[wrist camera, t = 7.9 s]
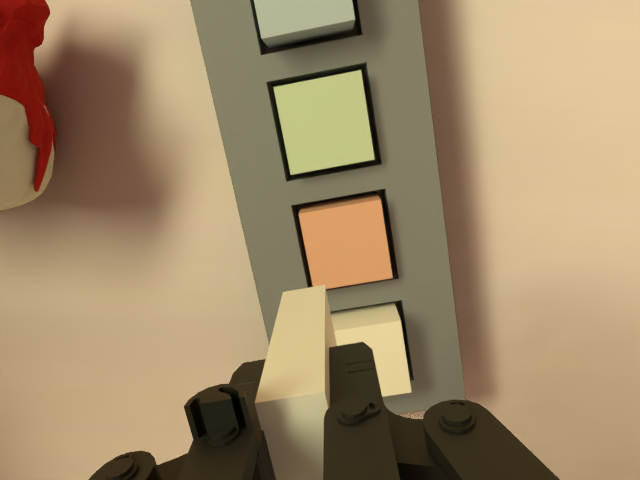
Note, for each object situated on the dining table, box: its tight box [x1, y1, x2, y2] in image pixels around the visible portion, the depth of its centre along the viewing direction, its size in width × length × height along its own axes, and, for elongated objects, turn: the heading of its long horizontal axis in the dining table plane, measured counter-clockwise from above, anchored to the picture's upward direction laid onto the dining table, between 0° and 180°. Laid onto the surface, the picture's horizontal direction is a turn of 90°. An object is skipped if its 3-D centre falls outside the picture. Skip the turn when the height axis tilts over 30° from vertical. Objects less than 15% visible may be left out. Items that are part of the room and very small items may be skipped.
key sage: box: [273, 70, 375, 175], centre depth 24 cm, size 4×4×3 cm
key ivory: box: [331, 302, 412, 397], centre depth 26 cm, size 4×4×3 cm
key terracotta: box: [299, 193, 393, 289], centre depth 26 cm, size 4×4×3 cm
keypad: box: [190, 0, 466, 414], centre depth 26 cm, size 11×29×3 cm, turn 10°
